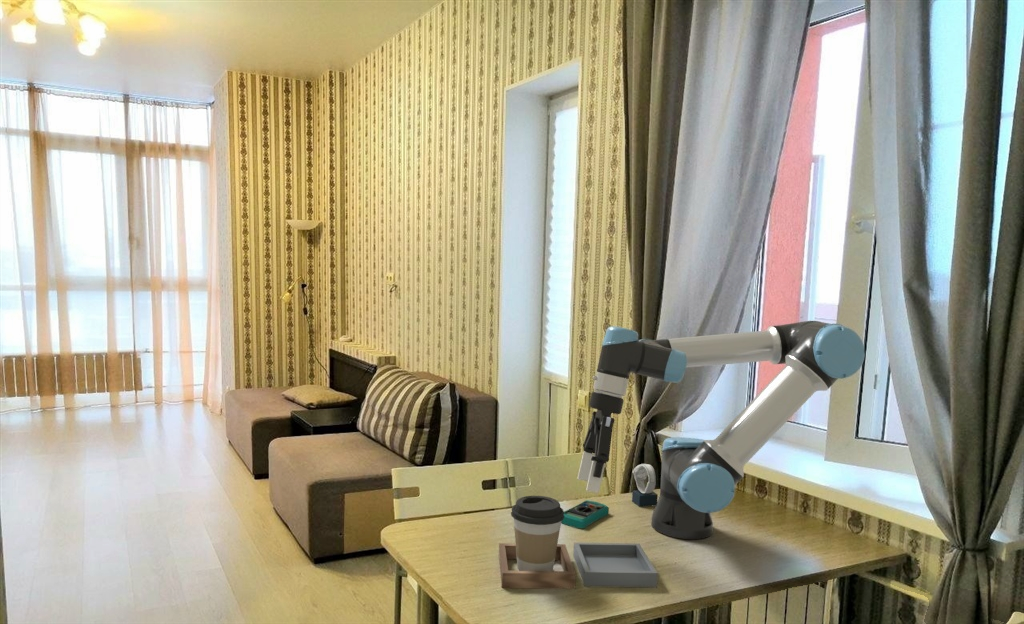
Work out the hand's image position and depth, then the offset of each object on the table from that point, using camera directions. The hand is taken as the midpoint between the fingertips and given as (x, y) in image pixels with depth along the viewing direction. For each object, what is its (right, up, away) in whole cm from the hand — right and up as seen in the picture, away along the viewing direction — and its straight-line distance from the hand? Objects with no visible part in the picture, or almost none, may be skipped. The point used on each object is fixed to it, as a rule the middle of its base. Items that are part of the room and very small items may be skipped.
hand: (587, 485), depth 155 cm
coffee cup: (-12, -16, -10) cm, 22 cm away
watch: (+20, -14, +36) cm, 44 cm away
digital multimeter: (+2, -15, +23) cm, 28 cm away
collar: (-12, -16, -10) cm, 22 cm away
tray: (+5, -16, -8) cm, 19 cm away
